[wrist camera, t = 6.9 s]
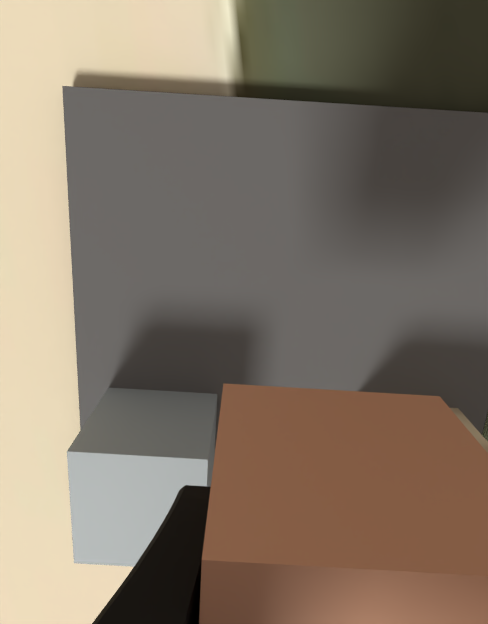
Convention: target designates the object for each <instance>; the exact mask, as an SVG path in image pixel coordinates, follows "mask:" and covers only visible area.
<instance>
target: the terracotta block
mask: <svg viewBox="0 0 488 624" xmlns="http://www.w3.org/2000/svg"><path fill="white" fill-rule="evenodd" d="M199 624H488V453H487V452H486V450H485V449H484V448H483V447H482V446H481V444H480V443H479V442H478V441H477V440H476V439H475V437H474V436H473V435H472V434H471V433H470V431H469V430H468V429H467V428H466V427H465V426H464V424H463V423H462V422H461V421H460V420H459V418H458V417H457V416H456V415H455V414H454V413H453V411H452V410H451V409H450V408H449V407H448V405H447V404H446V403H445V402H444V401H443V400H442V398H441V397H440V396H428V395H411V394H394V393H377V392H360V391H343V390H326V389H309V388H292V387H275V386H258V385H241V384H224V383H223V391H222V399H221V407H220V415H219V423H218V432H217V440H216V448H215V456H214V464H213V472H212V480H211V488H210V497H209V505H208V513H207V521H206V529H205V537H204V545H203V553H202V565H201V590H200V615H199Z"/></svg>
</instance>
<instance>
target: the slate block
mask: <svg viewBox="0 0 488 624" xmlns="http://www.w3.org/2000/svg"><path fill="white" fill-rule="evenodd" d="M216 414H217V394H210V393H193V392H176V391H159V390H142V389H125V388H108V389H107V391H106V392H105V394H104V395H103V397H102V398H101V400H100V402H99V403H98V405H97V406H96V408H95V409H94V411H93V412H92V414H91V415H90V417H89V418H88V420H87V422H86V423H85V425H84V426H83V428H82V429H81V431H80V432H79V434H78V435H77V437H76V438H75V440H74V441H73V443H72V445H71V446H70V448H69V449H68V451H67V459H68V474H69V490H70V506H71V522H72V537H73V553H74V563H80V564H98V565H116V566H133V567H134V566H135V565H136V563H137V562H138V560H139V559H140V557H141V556H142V554H143V553H144V551H145V550H146V548H147V547H148V545H149V544H150V542H151V541H152V539H153V537H154V536H155V534H156V532H157V531H158V529H159V527H160V526H161V524H162V522H163V521H164V519H165V517H166V515H167V514H168V512H169V510H170V508H171V506H172V504H173V502H174V500H175V498H176V496H177V494H178V492H179V490H180V489H181V488H182V487H184V486H185V485H191V486H209V487H211V480H212V472H213V464H214V456H215V435H216Z"/></svg>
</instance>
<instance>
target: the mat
mask: <svg viewBox="0 0 488 624" xmlns="http://www.w3.org/2000/svg"><path fill="white" fill-rule="evenodd" d="M63 105H64V124H65V143H66V162H67V181H68V200H69V219H70V238H71V257H72V276H73V295H74V314H75V333H76V352H77V371H78V390H79V409H80V428H81V429H82V428H83V426H84V425H85V423H86V422H87V420H88V418H89V417H90V415H91V414H92V412H93V411H94V409H95V408H96V406H97V405H98V403H99V402H100V400H101V398H102V397H103V395H104V394H105V392H106V391H107V389H108V388H125V389H142V390H159V391H176V392H193V393H210V394H217V414H216V435H215V448H216V440H217V432H218V423H219V415H220V407H221V399H222V391H223V383H224V384H241V385H258V386H275V387H292V388H309V389H326V390H343V391H360V392H377V393H394V394H411V395H428V396H440V397H441V398H442V400H443V401H444V402H445V403H446V404H447V405H448V407H449V408H458V409H459V410H460V411H461V412H462V413H463V414H464V415H465V417H466V418H467V419H468V420H469V421H470V422H471V423H472V425H473V426H474V427H475V428H476V429H477V430H478V431H479V432H480V434H481V435H482V433H483V429H484V425H485V421H486V416H487V412H488V113H482V112H466V111H450V110H434V109H418V108H402V107H387V106H371V105H355V104H339V103H323V102H307V101H291V100H276V99H260V98H244V97H228V96H212V95H196V94H180V93H165V92H149V91H133V90H117V89H101V88H85V87H69V86H63Z"/></svg>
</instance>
